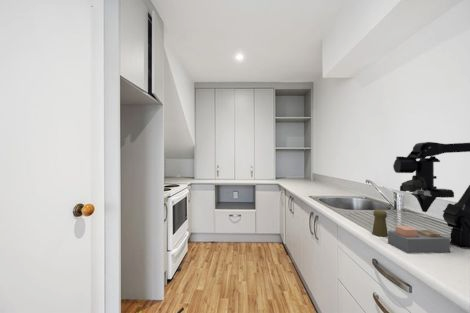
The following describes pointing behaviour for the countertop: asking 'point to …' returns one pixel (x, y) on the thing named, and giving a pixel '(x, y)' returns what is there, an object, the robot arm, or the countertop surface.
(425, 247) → the grey socket block
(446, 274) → the countertop surface
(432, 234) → the oak key
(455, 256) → the countertop surface
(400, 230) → the terracotta key
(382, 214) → the olive brown cylinder
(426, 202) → the robot arm
